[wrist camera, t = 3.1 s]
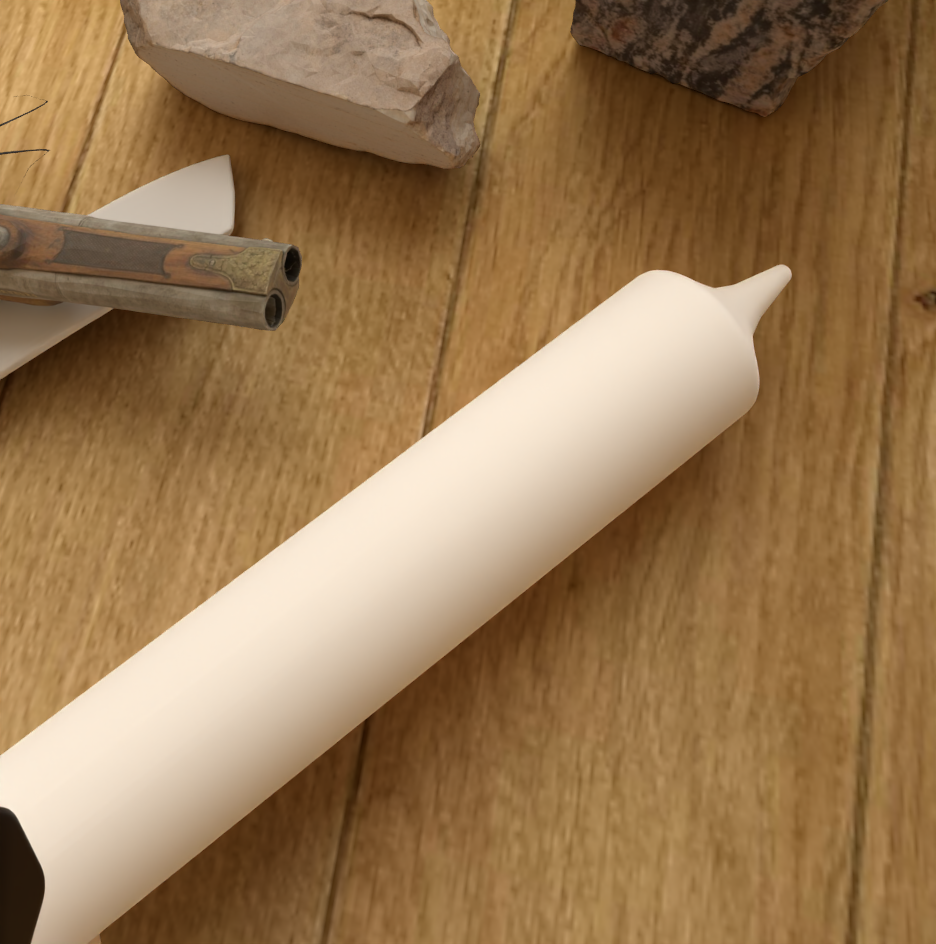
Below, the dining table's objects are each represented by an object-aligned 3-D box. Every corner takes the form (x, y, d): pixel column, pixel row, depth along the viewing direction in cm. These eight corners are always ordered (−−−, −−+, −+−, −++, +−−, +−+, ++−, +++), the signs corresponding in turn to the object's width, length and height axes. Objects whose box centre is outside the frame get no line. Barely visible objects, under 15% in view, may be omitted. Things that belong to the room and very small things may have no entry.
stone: (162, -108, 25) (212, -18, 28) (91, 19, 24) (150, 96, 27) (519, -15, 22) (527, 71, 26) (450, 129, 22) (468, 199, 25)
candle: (-79, 732, 21) (656, 193, 25) (103, 925, 22) (776, 384, 26) (-256, 884, 14) (803, 102, 18) (24, 1152, 15) (957, 370, 19)
